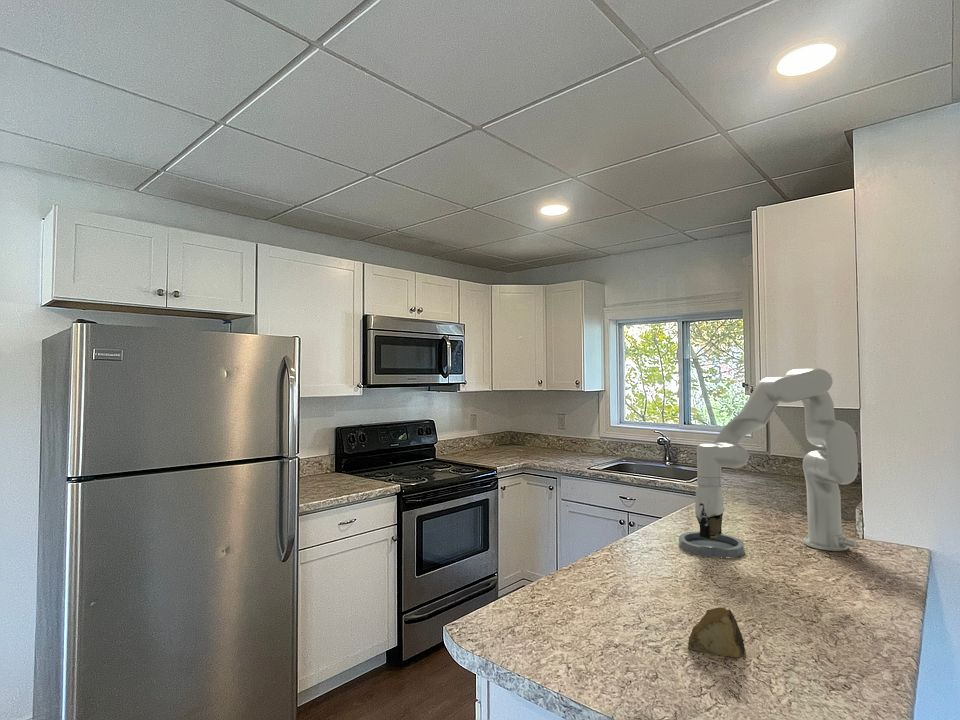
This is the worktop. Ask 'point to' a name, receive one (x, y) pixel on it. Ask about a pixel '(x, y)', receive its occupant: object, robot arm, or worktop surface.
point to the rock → (717, 634)
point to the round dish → (711, 545)
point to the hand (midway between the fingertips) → (710, 535)
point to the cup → (714, 526)
